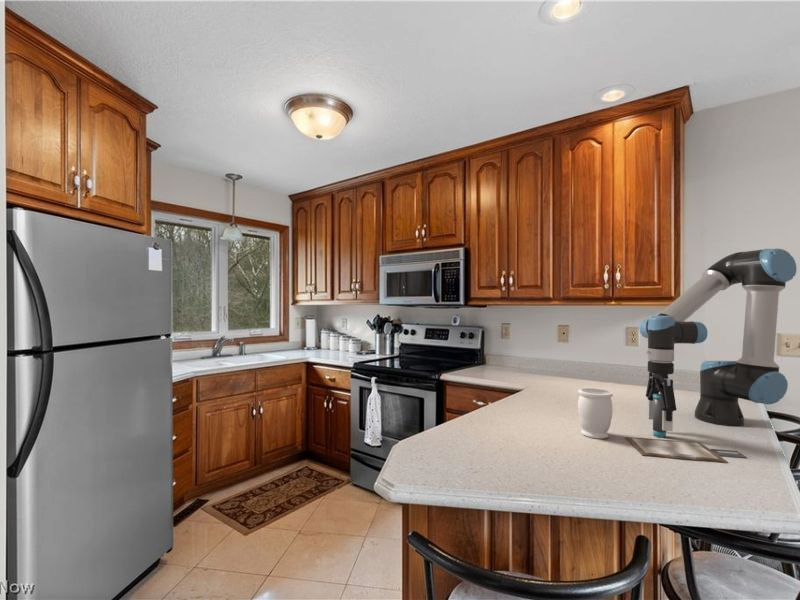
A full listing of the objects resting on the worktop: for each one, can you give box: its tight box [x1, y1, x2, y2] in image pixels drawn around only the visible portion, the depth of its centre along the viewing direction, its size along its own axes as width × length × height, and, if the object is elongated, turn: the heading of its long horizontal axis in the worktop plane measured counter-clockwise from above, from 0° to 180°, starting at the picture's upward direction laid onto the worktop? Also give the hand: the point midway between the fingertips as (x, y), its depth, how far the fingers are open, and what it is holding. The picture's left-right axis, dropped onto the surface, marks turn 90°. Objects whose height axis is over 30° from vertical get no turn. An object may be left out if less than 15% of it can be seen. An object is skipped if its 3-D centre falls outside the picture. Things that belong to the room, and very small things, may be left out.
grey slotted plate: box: [710, 448, 748, 459], centre depth 124 cm, size 7×5×1 cm
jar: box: [577, 387, 614, 440], centre depth 140 cm, size 11×10×15 cm
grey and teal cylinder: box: [652, 393, 668, 439], centre depth 140 cm, size 4×4×14 cm
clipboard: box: [625, 436, 729, 464], centre depth 127 cm, size 22×16×1 cm
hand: (659, 424), depth 140 cm, fingers open, 12 cm apart
